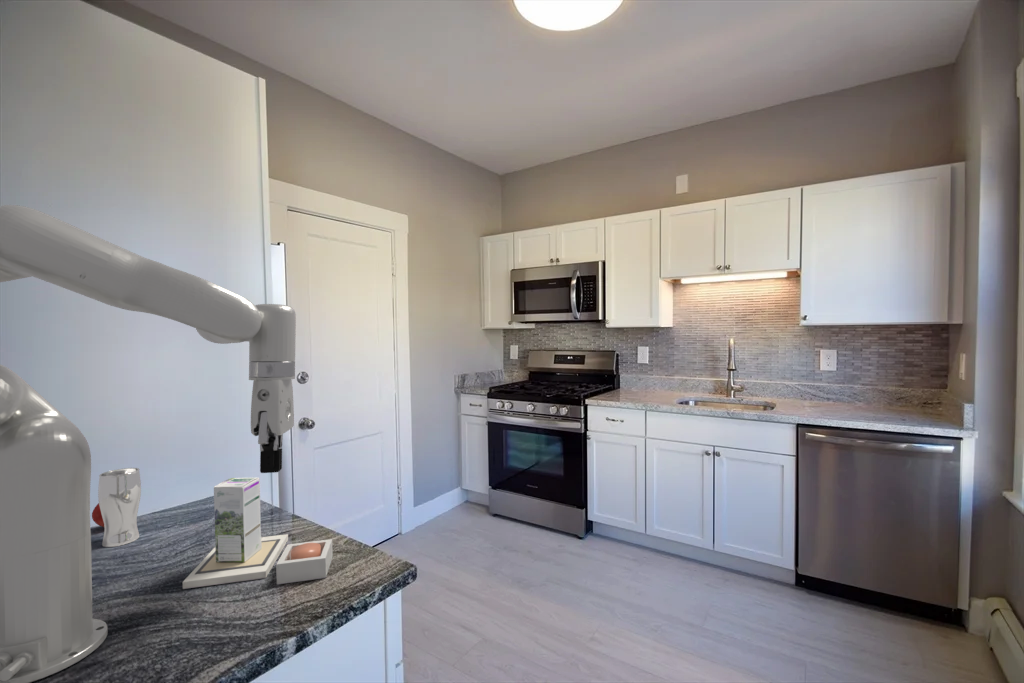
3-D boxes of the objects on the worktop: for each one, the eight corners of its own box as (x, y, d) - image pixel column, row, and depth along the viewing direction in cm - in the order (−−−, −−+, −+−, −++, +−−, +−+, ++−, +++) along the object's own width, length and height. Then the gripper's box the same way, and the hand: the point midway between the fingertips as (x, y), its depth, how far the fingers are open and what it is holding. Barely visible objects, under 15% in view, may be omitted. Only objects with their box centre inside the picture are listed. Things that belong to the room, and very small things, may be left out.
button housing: (325, 577, 79) (325, 558, 79) (276, 584, 78) (276, 564, 78) (332, 556, 87) (332, 539, 87) (288, 562, 85) (287, 544, 85)
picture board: (266, 577, 80) (265, 570, 80) (182, 588, 77) (182, 581, 77) (288, 539, 95) (288, 533, 95) (219, 547, 92) (219, 541, 92)
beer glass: (137, 531, 102) (136, 465, 102) (145, 539, 97) (144, 470, 97) (96, 542, 96) (95, 473, 96) (102, 551, 92) (101, 478, 92)
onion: (85, 532, 102) (85, 497, 102) (114, 522, 107) (114, 489, 107) (103, 534, 100) (102, 499, 100) (131, 524, 106) (131, 490, 106)
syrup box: (262, 548, 88) (261, 475, 88) (244, 563, 83) (242, 485, 83) (234, 549, 89) (232, 476, 89) (214, 564, 83) (212, 485, 83)
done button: (318, 566, 81) (317, 553, 81) (288, 570, 79) (287, 556, 79) (323, 553, 85) (322, 541, 85) (294, 557, 84) (294, 544, 84)
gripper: (282, 373, 76) (281, 481, 75) (304, 369, 90) (303, 460, 90) (233, 373, 74) (232, 484, 74) (263, 370, 89) (262, 462, 88)
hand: (271, 471), depth 82 cm, fingers closed
